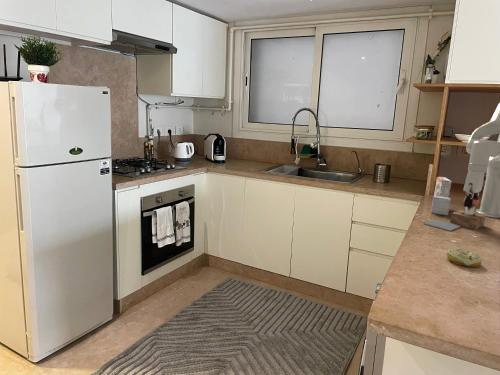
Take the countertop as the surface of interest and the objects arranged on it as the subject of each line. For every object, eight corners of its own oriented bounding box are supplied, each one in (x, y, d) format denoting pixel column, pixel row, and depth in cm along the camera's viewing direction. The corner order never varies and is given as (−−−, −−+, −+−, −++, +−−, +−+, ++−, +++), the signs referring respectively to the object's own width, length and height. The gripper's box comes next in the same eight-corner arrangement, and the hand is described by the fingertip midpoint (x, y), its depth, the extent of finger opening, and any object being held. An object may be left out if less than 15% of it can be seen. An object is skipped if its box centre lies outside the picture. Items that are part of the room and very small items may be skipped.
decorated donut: (471, 271, 126) (473, 260, 125) (440, 259, 134) (441, 249, 133) (486, 265, 132) (488, 255, 131) (455, 254, 140) (457, 244, 139)
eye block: (458, 219, 187) (460, 209, 186) (483, 225, 179) (485, 215, 178) (449, 223, 180) (451, 213, 179) (475, 229, 172) (477, 219, 171)
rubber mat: (434, 220, 183) (434, 219, 183) (461, 226, 175) (461, 225, 175) (423, 224, 175) (423, 223, 175) (450, 231, 167) (450, 230, 167)
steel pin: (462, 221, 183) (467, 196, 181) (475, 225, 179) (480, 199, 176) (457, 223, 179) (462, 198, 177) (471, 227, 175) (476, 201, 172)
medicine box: (447, 213, 196) (450, 197, 195) (447, 216, 192) (450, 199, 191) (430, 211, 200) (433, 195, 198) (430, 213, 196) (433, 197, 194)
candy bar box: (431, 205, 213) (436, 176, 210) (441, 206, 212) (446, 177, 209) (437, 210, 203) (442, 180, 199) (447, 211, 202) (452, 181, 198)
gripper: (475, 165, 182) (468, 202, 186) (461, 167, 170) (454, 206, 174) (493, 168, 176) (485, 205, 180) (480, 170, 165) (472, 210, 169)
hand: (470, 205), depth 177 cm, fingers closed on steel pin, 6 cm apart
